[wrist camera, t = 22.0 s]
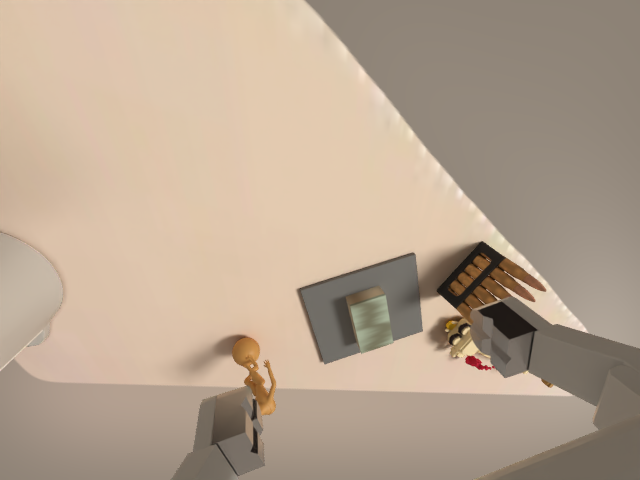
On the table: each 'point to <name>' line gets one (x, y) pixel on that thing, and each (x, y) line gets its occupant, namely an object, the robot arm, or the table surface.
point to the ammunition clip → (485, 281)
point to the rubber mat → (330, 299)
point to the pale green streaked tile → (370, 319)
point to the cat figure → (467, 344)
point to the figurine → (255, 373)
